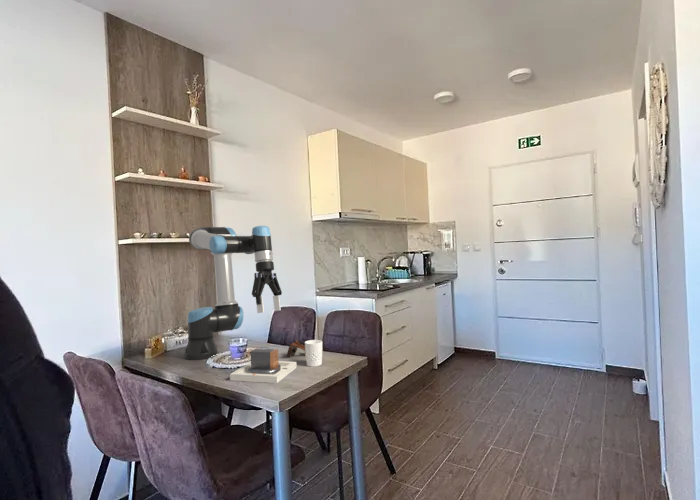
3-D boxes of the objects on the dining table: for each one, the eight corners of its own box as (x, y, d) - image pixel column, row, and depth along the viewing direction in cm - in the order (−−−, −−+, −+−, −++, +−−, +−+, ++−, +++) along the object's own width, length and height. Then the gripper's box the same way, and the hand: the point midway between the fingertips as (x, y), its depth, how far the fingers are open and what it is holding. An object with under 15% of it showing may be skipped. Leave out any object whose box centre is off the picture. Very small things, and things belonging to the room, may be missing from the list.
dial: (242, 375, 158) (241, 353, 158) (257, 365, 170) (257, 346, 170) (272, 376, 154) (271, 355, 154) (285, 367, 167) (285, 346, 167)
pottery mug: (289, 353, 195) (297, 339, 196) (304, 363, 192) (313, 348, 193) (279, 353, 184) (288, 338, 185) (295, 364, 181) (304, 348, 182)
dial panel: (230, 380, 155) (229, 373, 155) (254, 365, 174) (254, 359, 174) (277, 383, 150) (276, 376, 150) (296, 367, 170) (296, 361, 170)
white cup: (319, 361, 179) (318, 339, 179) (325, 365, 172) (325, 342, 172) (302, 363, 176) (302, 341, 176) (308, 368, 169) (308, 344, 169)
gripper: (255, 258, 155) (261, 312, 152) (286, 262, 179) (291, 308, 176) (239, 261, 157) (244, 314, 155) (271, 264, 181) (276, 310, 178)
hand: (269, 311), depth 165 cm, fingers open, 13 cm apart
